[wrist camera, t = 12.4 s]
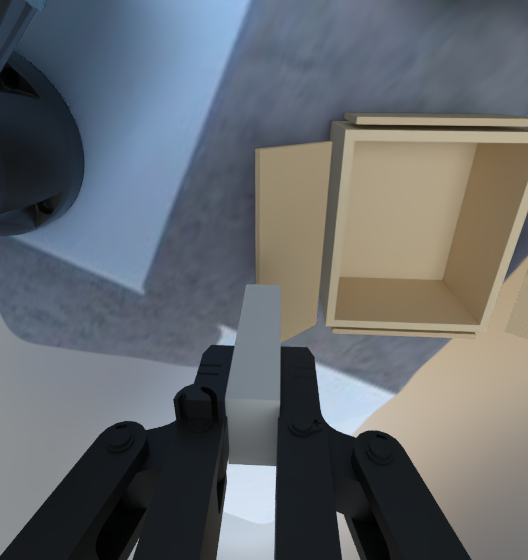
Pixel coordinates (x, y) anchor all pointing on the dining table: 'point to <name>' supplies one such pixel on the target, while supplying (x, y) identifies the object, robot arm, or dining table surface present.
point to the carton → (421, 221)
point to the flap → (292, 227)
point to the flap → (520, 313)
